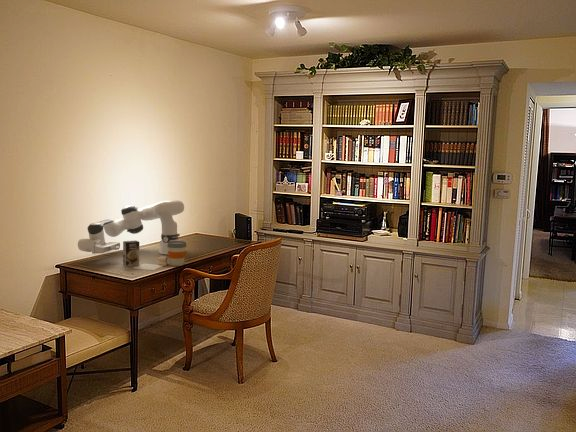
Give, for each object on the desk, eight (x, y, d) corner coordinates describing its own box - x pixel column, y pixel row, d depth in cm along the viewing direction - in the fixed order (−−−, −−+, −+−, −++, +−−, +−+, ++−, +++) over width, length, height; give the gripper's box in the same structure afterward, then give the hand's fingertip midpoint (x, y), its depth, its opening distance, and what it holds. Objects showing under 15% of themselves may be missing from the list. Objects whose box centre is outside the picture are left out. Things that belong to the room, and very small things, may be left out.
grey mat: (144, 264, 351) (144, 263, 351) (163, 265, 347) (163, 265, 347) (132, 268, 338) (132, 268, 338) (152, 270, 334) (152, 270, 334)
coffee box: (126, 267, 341) (125, 242, 338) (122, 265, 346) (122, 241, 344) (139, 265, 346) (139, 241, 344) (136, 263, 351) (136, 240, 349)
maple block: (160, 263, 354) (160, 256, 353) (167, 263, 354) (167, 256, 353) (158, 265, 349) (158, 258, 348) (165, 265, 349) (165, 258, 348)
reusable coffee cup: (189, 265, 351) (189, 243, 349) (172, 267, 343) (172, 244, 342) (181, 262, 361) (181, 240, 359) (164, 263, 353) (164, 241, 352)
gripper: (109, 248, 360) (127, 250, 357) (90, 253, 341) (109, 255, 337) (109, 239, 360) (127, 241, 356) (90, 244, 340) (109, 246, 336)
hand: (118, 248), depth 346 cm, fingers closed
